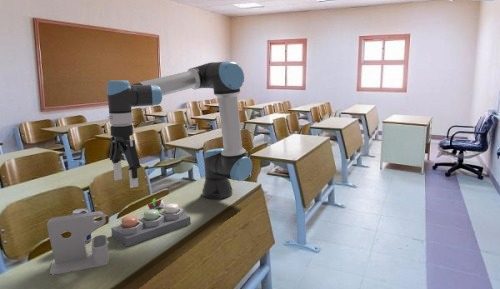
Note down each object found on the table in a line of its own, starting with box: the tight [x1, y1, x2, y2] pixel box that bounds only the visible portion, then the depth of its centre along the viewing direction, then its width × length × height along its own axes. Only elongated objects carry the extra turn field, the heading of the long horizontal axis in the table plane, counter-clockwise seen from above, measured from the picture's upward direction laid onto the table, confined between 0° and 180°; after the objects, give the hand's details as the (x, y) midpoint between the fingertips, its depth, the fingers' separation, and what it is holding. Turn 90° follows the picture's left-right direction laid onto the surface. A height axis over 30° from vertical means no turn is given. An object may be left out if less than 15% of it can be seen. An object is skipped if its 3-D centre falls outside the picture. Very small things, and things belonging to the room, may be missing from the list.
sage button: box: [143, 209, 159, 221], centre depth 140 cm, size 6×6×2 cm
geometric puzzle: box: [147, 197, 166, 213], centre depth 157 cm, size 7×7×8 cm
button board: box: [110, 206, 192, 247], centre depth 141 cm, size 27×13×5 cm, turn 134°
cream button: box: [163, 203, 180, 214], centre depth 146 cm, size 6×6×2 cm
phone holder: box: [46, 210, 110, 276], centre depth 115 cm, size 17×10×18 cm, turn 112°
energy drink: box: [71, 207, 92, 245], centre depth 131 cm, size 5×5×12 cm
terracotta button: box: [120, 215, 138, 228], centre depth 134 cm, size 6×6×2 cm
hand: (126, 183), depth 131 cm, fingers open, 12 cm apart
